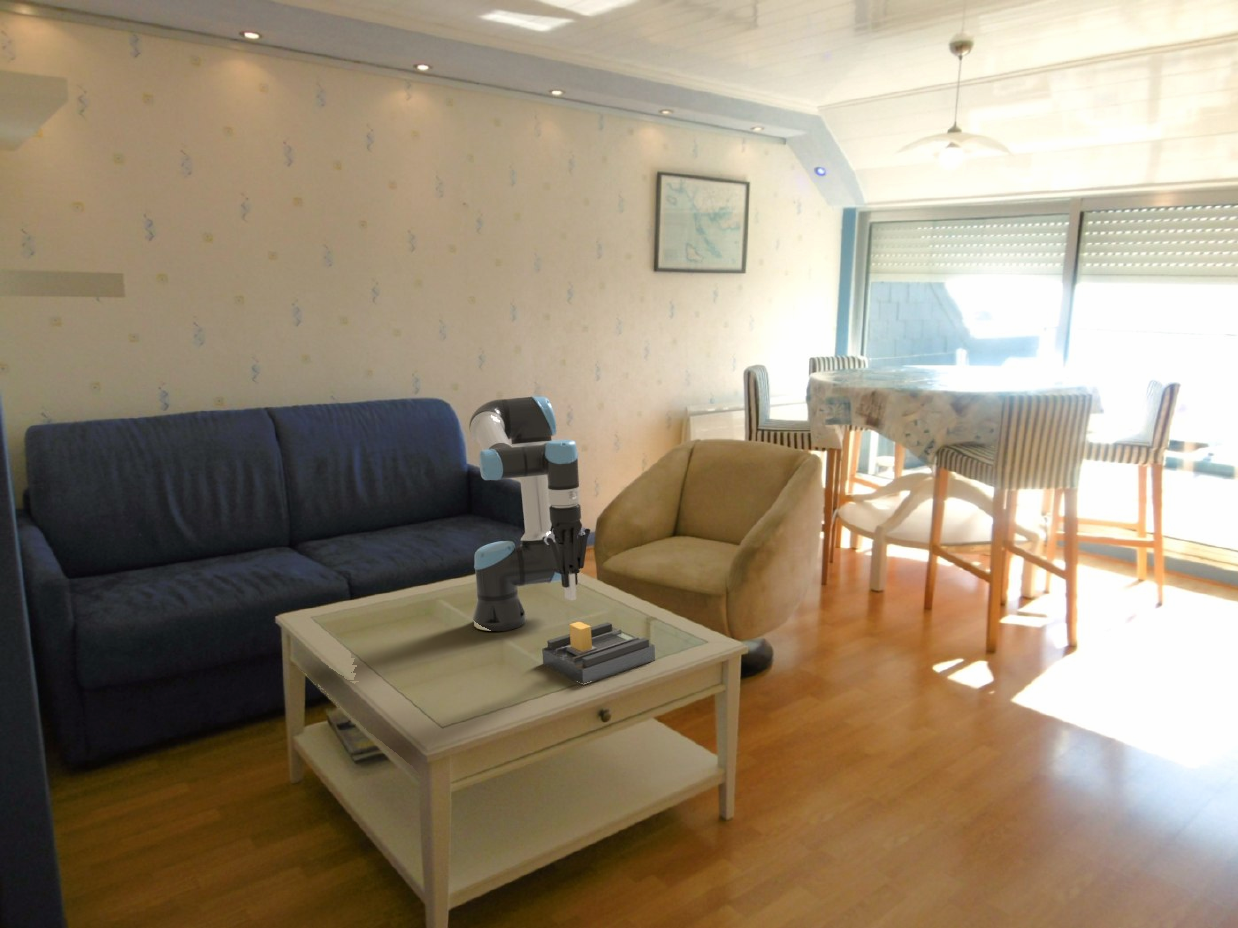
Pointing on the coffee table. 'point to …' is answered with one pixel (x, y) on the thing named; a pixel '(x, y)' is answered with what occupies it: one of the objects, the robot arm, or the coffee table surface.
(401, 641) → the coffee table surface
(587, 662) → the pair of guide rails
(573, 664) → the grey rail base
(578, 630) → the handle
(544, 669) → the coffee table surface
